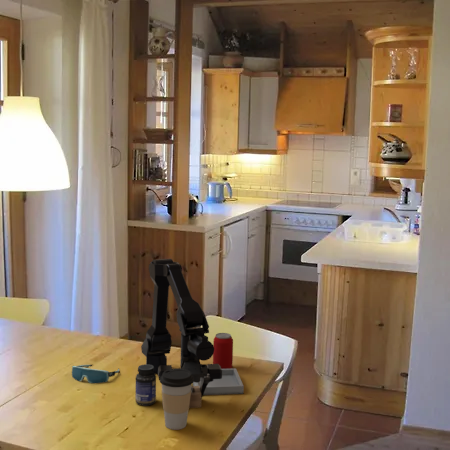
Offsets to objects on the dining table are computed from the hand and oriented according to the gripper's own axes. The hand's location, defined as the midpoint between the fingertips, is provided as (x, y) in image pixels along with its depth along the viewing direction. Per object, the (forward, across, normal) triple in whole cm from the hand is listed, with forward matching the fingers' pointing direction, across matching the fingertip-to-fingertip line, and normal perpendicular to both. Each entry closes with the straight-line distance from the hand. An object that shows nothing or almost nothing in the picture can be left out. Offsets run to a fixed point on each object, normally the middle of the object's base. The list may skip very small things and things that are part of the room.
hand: (189, 399), depth 194 cm
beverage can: (+2, +14, +27) cm, 30 cm away
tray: (+1, +10, +13) cm, 16 cm away
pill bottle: (+2, -13, +2) cm, 13 cm away
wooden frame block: (+1, 0, 0) cm, 1 cm away
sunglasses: (+2, -29, +25) cm, 38 cm away
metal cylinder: (+1, 0, 0) cm, 1 cm away
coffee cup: (+1, -5, -14) cm, 15 cm away
